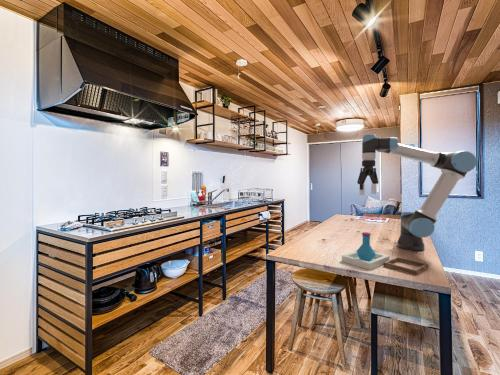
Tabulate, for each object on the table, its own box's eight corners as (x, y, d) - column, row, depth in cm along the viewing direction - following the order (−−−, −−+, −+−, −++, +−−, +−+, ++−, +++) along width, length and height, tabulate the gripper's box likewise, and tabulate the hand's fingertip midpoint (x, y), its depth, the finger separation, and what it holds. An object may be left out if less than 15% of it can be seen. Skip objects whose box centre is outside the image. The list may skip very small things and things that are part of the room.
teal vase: (369, 257, 147) (370, 231, 146) (378, 263, 138) (379, 234, 137) (353, 257, 147) (354, 231, 146) (361, 263, 137) (361, 235, 137)
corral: (397, 260, 144) (397, 256, 144) (428, 268, 132) (428, 264, 132) (383, 266, 135) (383, 262, 135) (415, 275, 123) (415, 270, 123)
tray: (361, 254, 155) (361, 249, 154) (389, 261, 142) (389, 255, 142) (341, 261, 143) (341, 255, 142) (370, 269, 130) (370, 263, 130)
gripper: (373, 160, 171) (372, 193, 172) (351, 159, 156) (350, 195, 157) (384, 160, 165) (383, 193, 166) (363, 159, 150) (362, 196, 151)
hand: (367, 194), depth 162 cm, fingers open, 13 cm apart
